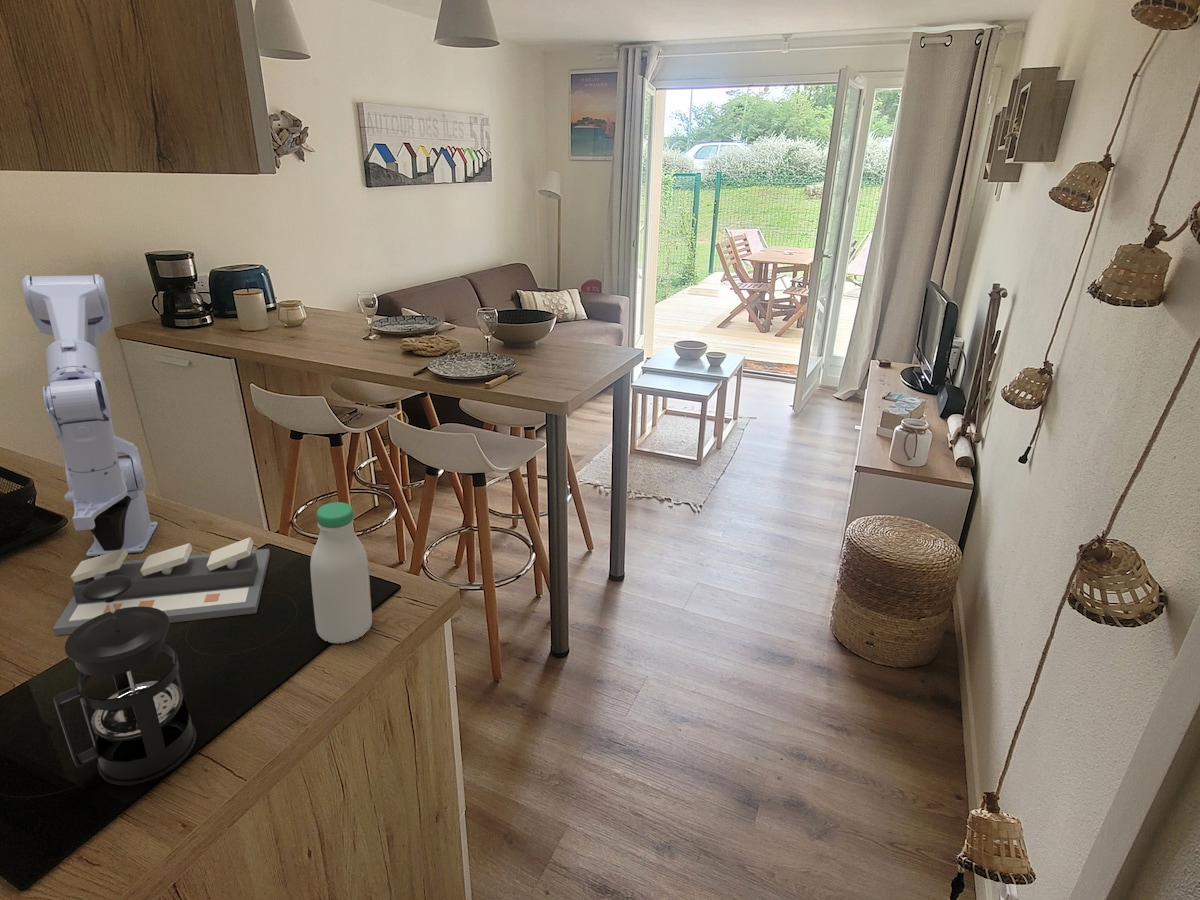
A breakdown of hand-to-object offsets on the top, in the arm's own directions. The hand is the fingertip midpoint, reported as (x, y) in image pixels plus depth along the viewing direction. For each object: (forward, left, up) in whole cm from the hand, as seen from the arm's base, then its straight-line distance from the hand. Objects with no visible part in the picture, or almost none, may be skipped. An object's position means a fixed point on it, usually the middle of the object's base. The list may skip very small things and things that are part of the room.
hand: (113, 547), depth 96 cm
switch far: (0, +15, -4) cm, 16 cm away
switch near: (0, -2, -4) cm, 5 cm away
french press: (+32, +10, -9) cm, 35 cm away
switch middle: (0, +7, -4) cm, 8 cm away
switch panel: (0, +6, -8) cm, 11 cm away
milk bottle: (+14, +31, -9) cm, 35 cm away
